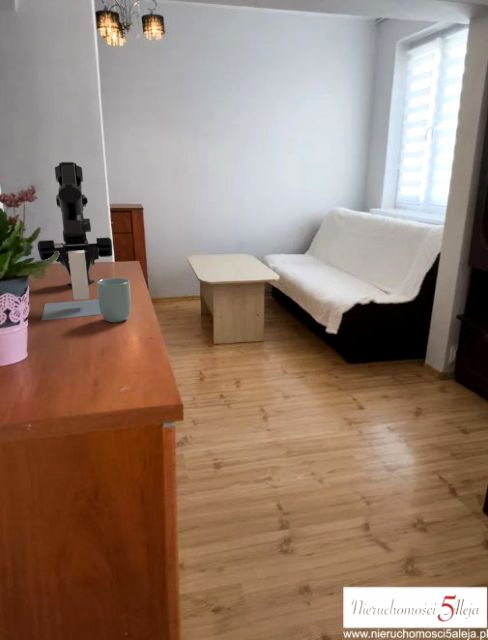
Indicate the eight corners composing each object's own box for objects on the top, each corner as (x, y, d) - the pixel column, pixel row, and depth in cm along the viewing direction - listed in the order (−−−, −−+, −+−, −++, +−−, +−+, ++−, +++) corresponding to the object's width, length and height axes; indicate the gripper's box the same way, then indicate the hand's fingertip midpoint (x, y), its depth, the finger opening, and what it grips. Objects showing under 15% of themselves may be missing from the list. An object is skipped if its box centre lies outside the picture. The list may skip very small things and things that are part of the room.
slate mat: (45, 304, 129) (45, 303, 129) (118, 298, 135) (118, 297, 135) (41, 321, 115) (41, 320, 115) (123, 313, 121) (123, 312, 121)
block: (73, 296, 125) (68, 251, 122) (89, 294, 127) (84, 250, 123) (73, 299, 122) (68, 253, 118) (89, 298, 123) (84, 252, 119)
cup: (102, 326, 110) (97, 286, 107) (99, 317, 117) (94, 279, 114) (134, 322, 113) (131, 283, 110) (129, 314, 120) (126, 276, 117)
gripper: (32, 209, 118) (35, 259, 111) (108, 207, 123) (115, 254, 117) (39, 236, 127) (42, 283, 121) (109, 233, 133) (115, 278, 126)
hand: (78, 274), depth 121 cm, fingers closed on block, 4 cm apart
